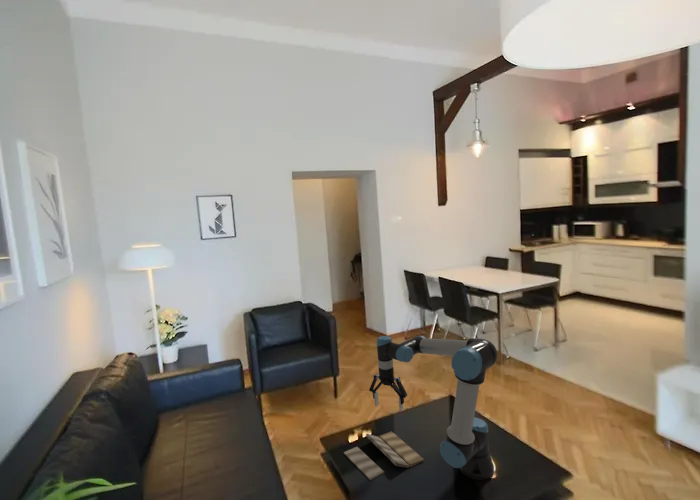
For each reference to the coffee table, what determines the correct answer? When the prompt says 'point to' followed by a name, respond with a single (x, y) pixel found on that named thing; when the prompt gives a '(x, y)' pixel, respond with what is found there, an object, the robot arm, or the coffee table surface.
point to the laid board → (401, 449)
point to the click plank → (387, 451)
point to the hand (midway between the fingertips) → (388, 407)
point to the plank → (364, 463)
